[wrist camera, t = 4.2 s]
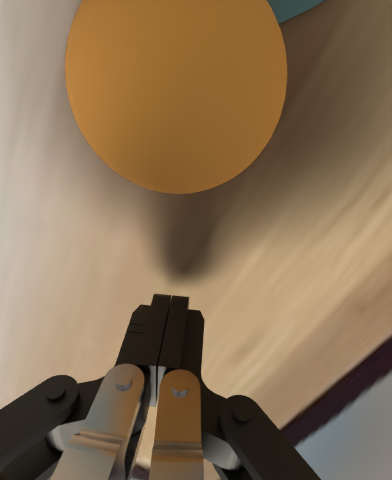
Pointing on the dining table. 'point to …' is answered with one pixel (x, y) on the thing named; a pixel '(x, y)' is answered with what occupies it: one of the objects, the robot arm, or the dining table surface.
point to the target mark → (290, 8)
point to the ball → (176, 87)
